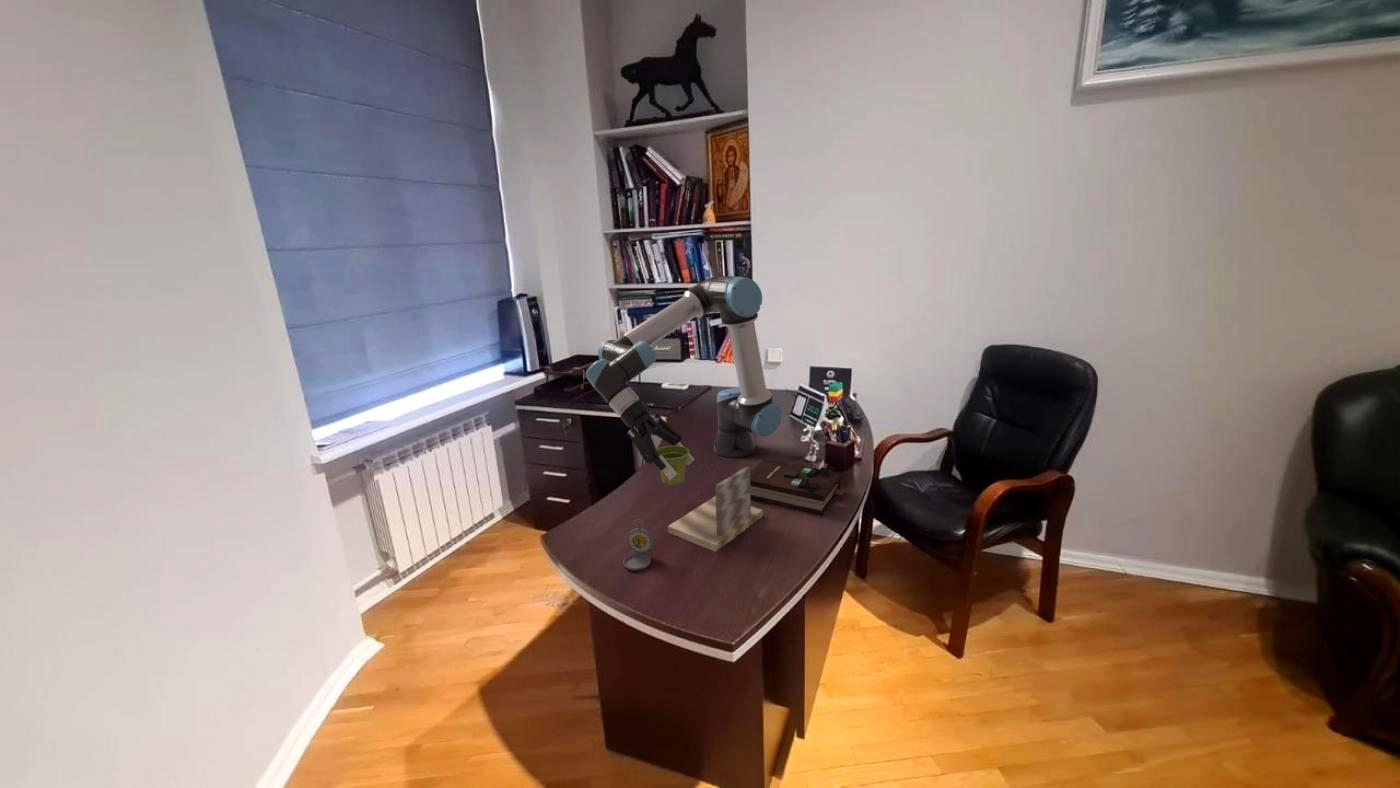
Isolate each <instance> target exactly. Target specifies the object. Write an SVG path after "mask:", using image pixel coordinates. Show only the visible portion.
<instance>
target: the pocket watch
mask: <svg viewBox="0 0 1400 788" xmlns="http://www.w3.org/2000/svg"><path fill="white" fill-rule="evenodd" d="M637 521H641V522H642V524H641V523H640V522H638V523H637V524H636V522H637ZM633 524H634V526H636V528H634V529H632V530H630V532H628V534H627V537H626V542H627V546H628V548H630V550H632V551H633V552H634V553H630V554H628V555H627V556H626V557H624V559H623V562H622V564H623V567H625V568H626V569H627V570H630V571H639V570H644V569H646V568H647V567H649V566H650V564H651V562H652V559H651V556H650V555H649V554H647V553H648V552H650V551H651V550H652V548H653V546H654V537H653V536H652V534H651V533H650V531H648V530H647V529H644V528H641V527H642V526H644V525H645V522H644V520H643V519H641V518H640V519H639V518H638V519H635V520H634V521H633Z"/></svg>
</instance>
